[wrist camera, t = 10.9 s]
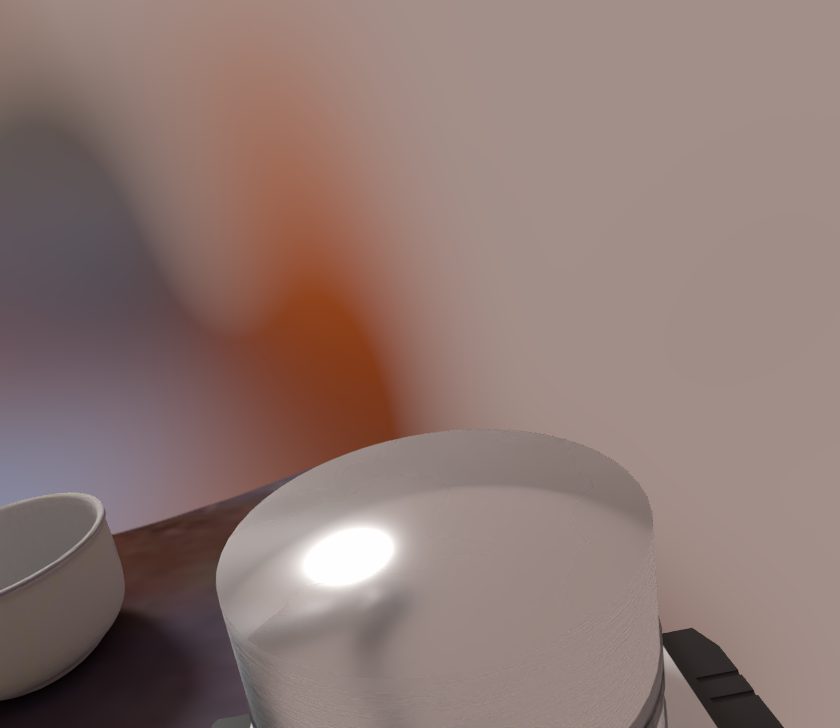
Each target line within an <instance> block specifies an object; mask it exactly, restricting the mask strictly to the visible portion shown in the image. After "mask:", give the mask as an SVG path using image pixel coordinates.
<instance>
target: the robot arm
mask: <svg viewBox="0 0 840 728" xmlns="http://www.w3.org/2000/svg"><path fill="white" fill-rule="evenodd" d="M662 639H663V655H664V672H665V692H664V695H665V700H666V708H667V723H668V728H784V727H783V726H782V725H781V724H780V722H779V721H778V720H777V719H776V717H775V716H774V715H773V713H772V712H771V711H770V710H769V708H768V707H767V706H766V705H765V704H764V702H763V701H762V700H761V698H760V697H759V696H758V695H755V693H754V690H753V689H752V687H751V686H750V685H749V683H748V682H747V681H746V679H745V678H744V677H743V676H742V675H740V674H739V672H738V669H737V668H736V667H735V666H734V664H733V663H732V662H731V661H730V659H729V658H728V657H727V656H726V654H725V653H724V652H723V651H722V649H721V648H720V647H719V646H718V645H717V644H715V643H714V642H712V641H711V640H709V639H708V638H706V637H705V636H703V635H702V634H700V633H699V632H697V631H696V630H694V629H693V628H689V629H684V630H678V631H673V632H669V633H663V634H662ZM211 728H253V727H252V723H251V719H250V715H249V714H246V715H240V716H235V717H230V718H225V719H219V720H216V722H215V723H214V724H213V726H212V727H211Z"/></svg>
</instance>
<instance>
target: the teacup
mask: <svg viewBox="0 0 840 728" xmlns="http://www.w3.org/2000/svg"><path fill="white" fill-rule="evenodd" d="M105 514H106V513H105V509H104V506H103V504H102V503H101V502H100V500H98V499H97V498H95V497H94V496H91V495H87V494H81V493H74V492H73V493H60V494H51V495H46V496H40V497H35V498H31V499H26V500H23V501H19V502H16V503H12V504H9V505H6V506H3V507H1V508H0V700H7V699H12V698H16V697H19V696H23V695H26V694H28V693H31V692H34V691H36V690H39V689H41V688H43V687H45V686H47V685H49V684H51V683H53V682H55V681H56V680H58V679H60V678H61V677H63V676H64V675H66V674H67V673H69V672H70V671H71V670H72V669H74V668H75V667H76V666H77V665H79V664H80V663H81V662H82V661H83V660H84V659H85V658H86V657H87V656H88V655H89V654H90V653H91V652H92V651H93V650H94V649H95V647H96V646H97V645H98V644H99V642H100V641H101V639H102V638H103V636H104V635H105V634H106V633H107V631H108V630H109V629H110V627H111V626H112V624H113V623H114V621H115V619H116V618H117V615H118V613H119V611H120V609H121V606H122V603H123V599H124V592H125V586H124V576H123V571H122V566H121V563H120V560H119V556H118V553H117V550H116V546H115V543H114V541H113V538H112V535H111V532H110V529H109V527H108V524H107V521H106V519H105Z"/></svg>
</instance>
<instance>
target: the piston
mask: <svg viewBox="0 0 840 728" xmlns="http://www.w3.org/2000/svg"><path fill="white" fill-rule="evenodd" d="M653 536H654V535H653V520H652V510H651V507H650V504H649V501H648V498H647V496H646V494H645V492H644V491H643V489H642V488H641V486H640V484H639V483H638V482H637V481H636V480H635V479H634V478H633V476H632V475H631V474H630V473H629V472H628V471H627V470H625V469H624V468H623V467H622V466H620V465H619V464H618V463H616V462H615V461H613V460H612V459H610V458H609V457H607V456H605V455H603V454H602V453H600V452H598V451H595V450H593V449H591V448H589V447H586V446H584V445H581V444H578V443H575V442H572V441H569V440H566V439H562V438H558V437H554V436H549V435H544V434H538V433H532V432H525V431H515V430H498V429H468V430H454V431H444V432H435V433H427V434H421V435H416V436H409V437H405V438H400V439H396V440H391V441H387V442H383V443H380V444H376V445H373V446H369V447H366V448H363V449H360V450H357V451H354V452H351V453H348V454H346V455H343V456H340V457H338V458H335V459H333V460H330V461H328V462H326V463H324V464H322V465H319V466H317V467H315V468H313V469H311V470H309V471H307V472H306V473H304V474H302V475H300V476H298V477H296V478H295V479H293V480H291V481H290V482H288V483H287V484H285V485H283V486H282V487H280V488H279V489H278V490H276V491H275V492H273V493H272V494H271V495H269V496H268V497H267V498H265V499H264V500H263V501H262V502H261V503H260V504H259V505H257V506H256V507H255V508H254V509H253V510H252V511H251V512H250V513H249V514H248V515H247V516H246V517H245V518H244V519H243V520H242V522H241V523H240V524H239V525H238V526H237V528H236V529H235V531H234V532H233V533H232V535H231V536H230V538H229V539H228V541H227V543H226V545H225V547H224V549H223V551H222V553H221V556H220V560H219V564H218V567H217V575H216V589H217V593H218V598H219V603H220V606H221V610H222V613H223V617H224V620H225V623H226V627H227V630H228V634H229V637H230V641H231V644H232V647H233V651H234V654H235V658H236V661H237V665H238V668H239V671H240V675H241V678H242V682H243V685H244V689H245V692H246V702H247V706H248V711H249V715H250V719H251V723H252V727H253V728H668V723H667V708H666V700H665V695H664V692H665V672H664V655H663V639H662V627H661V623H660V619H659V616H658V602H657V585H656V568H655V554H654V553H655V552H654V537H653Z"/></svg>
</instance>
